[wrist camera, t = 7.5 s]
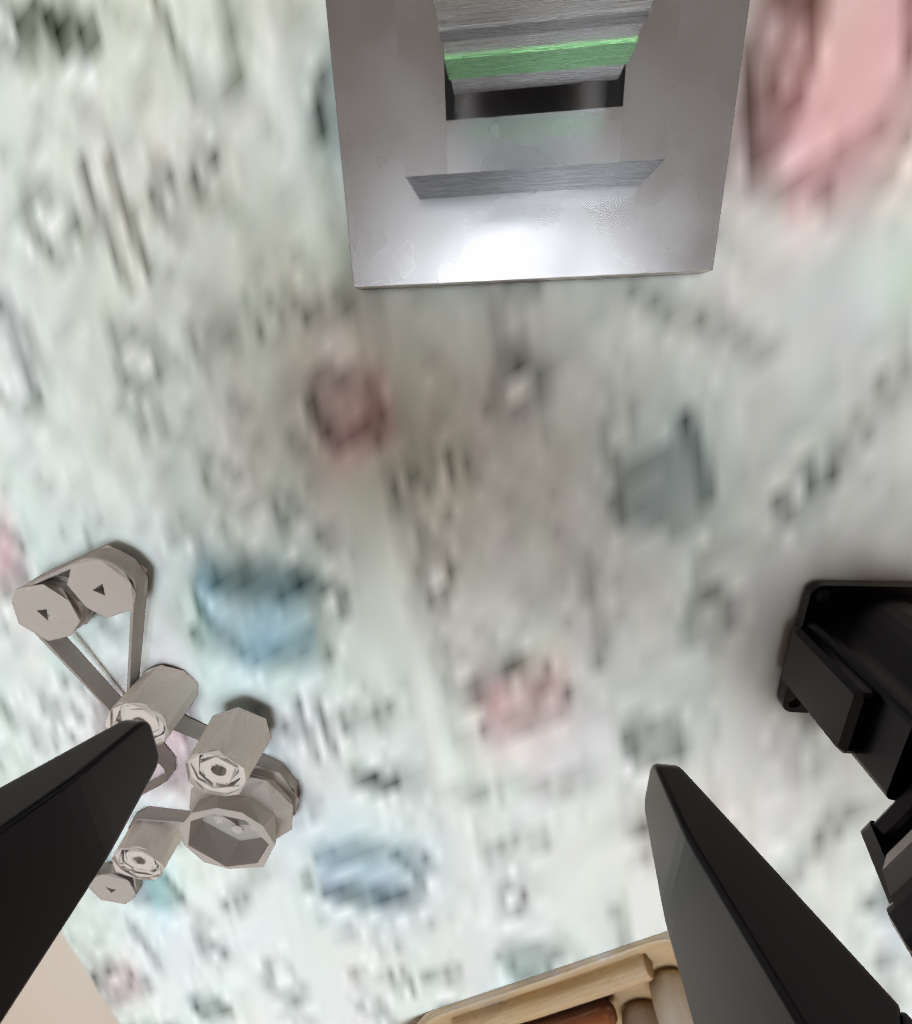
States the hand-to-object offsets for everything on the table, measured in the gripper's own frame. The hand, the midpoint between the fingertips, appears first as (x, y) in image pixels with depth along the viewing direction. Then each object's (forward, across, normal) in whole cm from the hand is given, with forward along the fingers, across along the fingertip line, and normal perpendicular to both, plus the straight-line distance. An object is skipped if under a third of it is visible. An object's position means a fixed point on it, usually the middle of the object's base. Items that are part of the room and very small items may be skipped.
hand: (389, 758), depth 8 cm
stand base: (+13, -2, -15) cm, 20 cm away
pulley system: (+14, +16, +16) cm, 27 cm away
